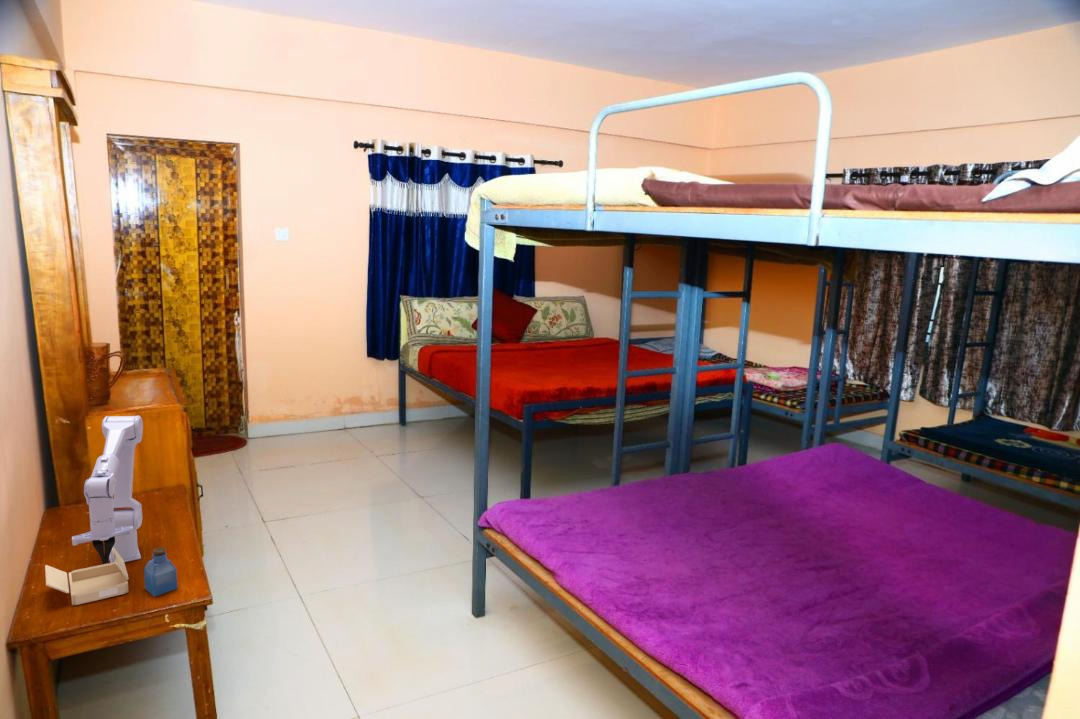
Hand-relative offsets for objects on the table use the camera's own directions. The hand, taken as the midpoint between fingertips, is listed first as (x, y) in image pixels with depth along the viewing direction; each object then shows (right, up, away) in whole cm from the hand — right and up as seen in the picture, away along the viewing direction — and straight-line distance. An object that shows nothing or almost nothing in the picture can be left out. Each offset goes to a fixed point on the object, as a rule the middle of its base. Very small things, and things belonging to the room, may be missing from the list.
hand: (105, 562), depth 196 cm
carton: (-2, -7, 0) cm, 7 cm away
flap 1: (-7, -5, -4) cm, 10 cm away
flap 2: (+4, -4, +4) cm, 6 cm away
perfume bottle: (+15, -8, +2) cm, 17 cm away
